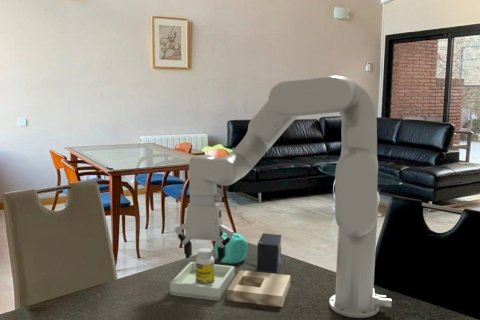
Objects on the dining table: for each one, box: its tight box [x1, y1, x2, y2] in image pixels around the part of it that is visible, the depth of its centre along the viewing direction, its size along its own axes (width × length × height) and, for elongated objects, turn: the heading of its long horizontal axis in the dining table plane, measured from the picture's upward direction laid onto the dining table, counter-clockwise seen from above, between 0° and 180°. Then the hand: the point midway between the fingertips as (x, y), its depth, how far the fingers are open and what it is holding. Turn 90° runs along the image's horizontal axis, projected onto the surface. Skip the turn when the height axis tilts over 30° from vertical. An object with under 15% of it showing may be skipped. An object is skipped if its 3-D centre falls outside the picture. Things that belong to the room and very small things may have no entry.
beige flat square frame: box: [226, 269, 291, 308], centre depth 132 cm, size 15×14×3 cm
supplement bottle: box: [195, 247, 215, 286], centre depth 135 cm, size 5×5×10 cm
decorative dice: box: [214, 232, 249, 265], centre depth 156 cm, size 8×8×8 cm
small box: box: [256, 232, 282, 274], centre depth 146 cm, size 11×6×10 cm, turn 168°
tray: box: [169, 261, 236, 302], centre depth 136 cm, size 14×16×4 cm
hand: (204, 258), depth 134 cm, fingers open, 9 cm apart
